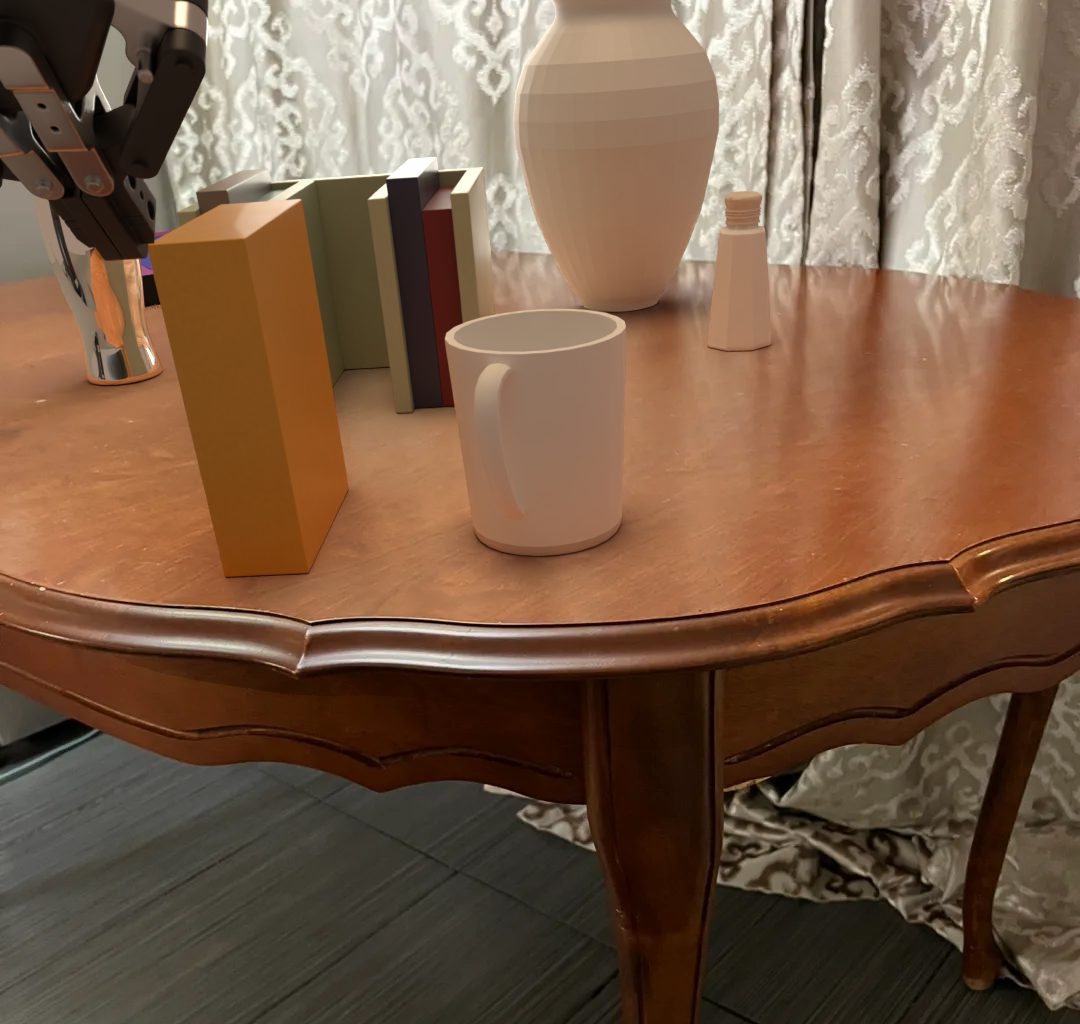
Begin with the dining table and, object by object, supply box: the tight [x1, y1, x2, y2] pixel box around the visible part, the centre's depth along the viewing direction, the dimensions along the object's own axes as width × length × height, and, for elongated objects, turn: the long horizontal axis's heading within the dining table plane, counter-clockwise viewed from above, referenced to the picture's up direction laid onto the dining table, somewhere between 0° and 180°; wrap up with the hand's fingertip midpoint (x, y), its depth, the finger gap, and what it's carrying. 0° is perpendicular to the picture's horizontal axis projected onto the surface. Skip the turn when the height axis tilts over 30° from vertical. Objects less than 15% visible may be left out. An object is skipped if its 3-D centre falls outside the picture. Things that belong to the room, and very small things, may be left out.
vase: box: [512, 0, 720, 313], centre depth 98 cm, size 18×18×25 cm
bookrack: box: [176, 156, 497, 414], centre depth 82 cm, size 19×14×15 cm
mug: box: [445, 308, 627, 557], centre depth 57 cm, size 11×9×10 cm
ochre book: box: [148, 199, 350, 578], centre depth 58 cm, size 4×12×16 cm, turn 178°
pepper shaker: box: [707, 190, 772, 352], centre depth 87 cm, size 5×5×11 cm
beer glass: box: [32, 194, 164, 386], centre depth 90 cm, size 7×7×15 cm
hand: (128, 238), depth 41 cm, fingers closed
